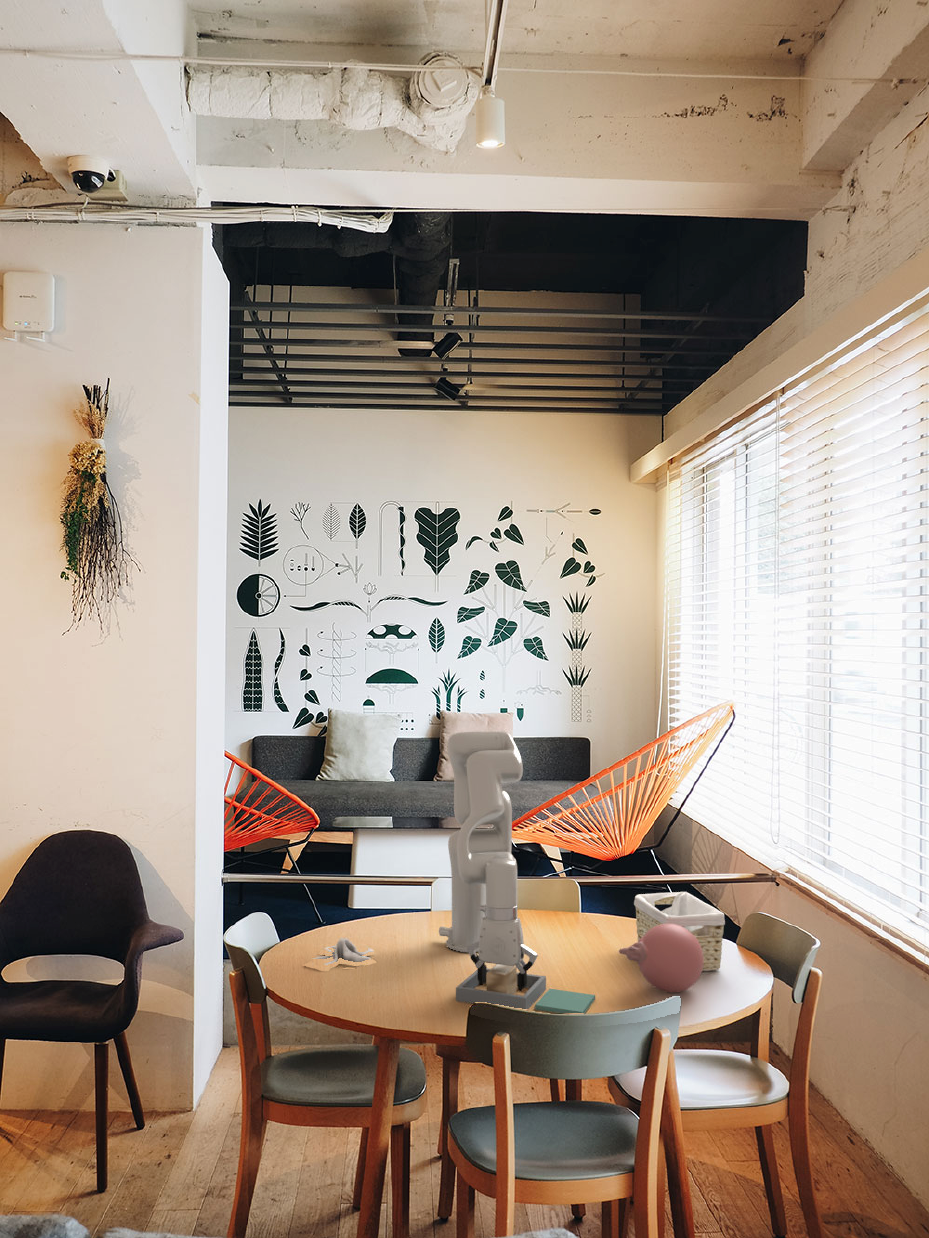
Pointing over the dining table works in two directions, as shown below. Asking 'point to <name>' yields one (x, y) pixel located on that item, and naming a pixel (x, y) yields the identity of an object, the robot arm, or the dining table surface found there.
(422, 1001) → the dining table surface
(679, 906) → the storage basket
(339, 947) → the cloth
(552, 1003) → the mat
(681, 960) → the pink balloon
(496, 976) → the label box
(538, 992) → the bin
